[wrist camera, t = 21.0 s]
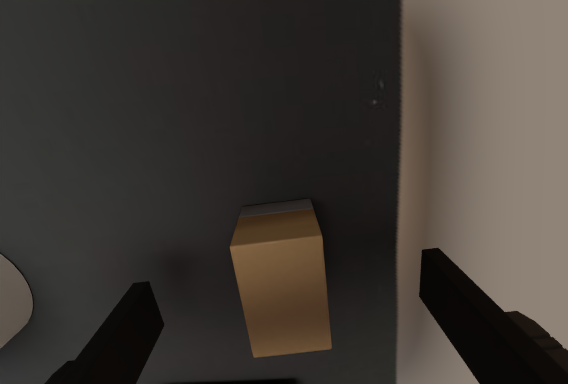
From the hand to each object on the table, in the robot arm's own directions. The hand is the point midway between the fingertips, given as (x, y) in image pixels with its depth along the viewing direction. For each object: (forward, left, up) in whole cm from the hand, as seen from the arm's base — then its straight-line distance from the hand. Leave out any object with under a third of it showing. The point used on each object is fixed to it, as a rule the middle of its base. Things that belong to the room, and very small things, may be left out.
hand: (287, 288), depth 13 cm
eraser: (0, 0, -4) cm, 4 cm away
